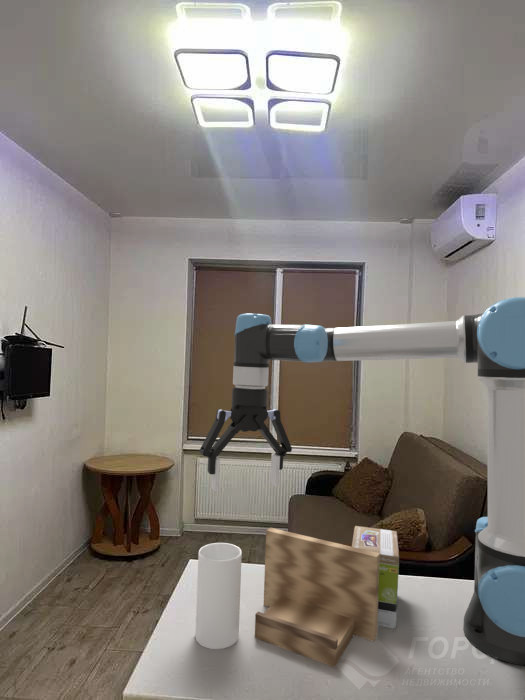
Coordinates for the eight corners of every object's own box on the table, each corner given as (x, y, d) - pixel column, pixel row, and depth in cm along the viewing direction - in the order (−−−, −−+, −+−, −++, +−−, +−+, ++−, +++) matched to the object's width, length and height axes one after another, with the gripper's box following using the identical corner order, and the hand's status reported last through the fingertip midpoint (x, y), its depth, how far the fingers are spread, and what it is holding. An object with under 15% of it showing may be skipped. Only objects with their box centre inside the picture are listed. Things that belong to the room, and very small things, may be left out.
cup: (244, 627, 90) (247, 546, 91) (230, 653, 83) (233, 563, 83) (205, 619, 93) (208, 540, 93) (188, 644, 85) (191, 556, 85)
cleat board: (377, 636, 89) (379, 553, 90) (357, 675, 78) (360, 580, 78) (267, 601, 101) (270, 527, 101) (236, 631, 89) (239, 548, 90)
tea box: (397, 630, 91) (400, 555, 92) (346, 621, 94) (348, 548, 94) (395, 593, 106) (397, 529, 106) (351, 586, 109) (353, 523, 109)
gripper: (293, 386, 106) (289, 478, 106) (188, 384, 96) (183, 486, 96) (310, 389, 99) (305, 487, 99) (198, 387, 89) (192, 497, 89)
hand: (245, 487), depth 97 cm, fingers open, 13 cm apart
